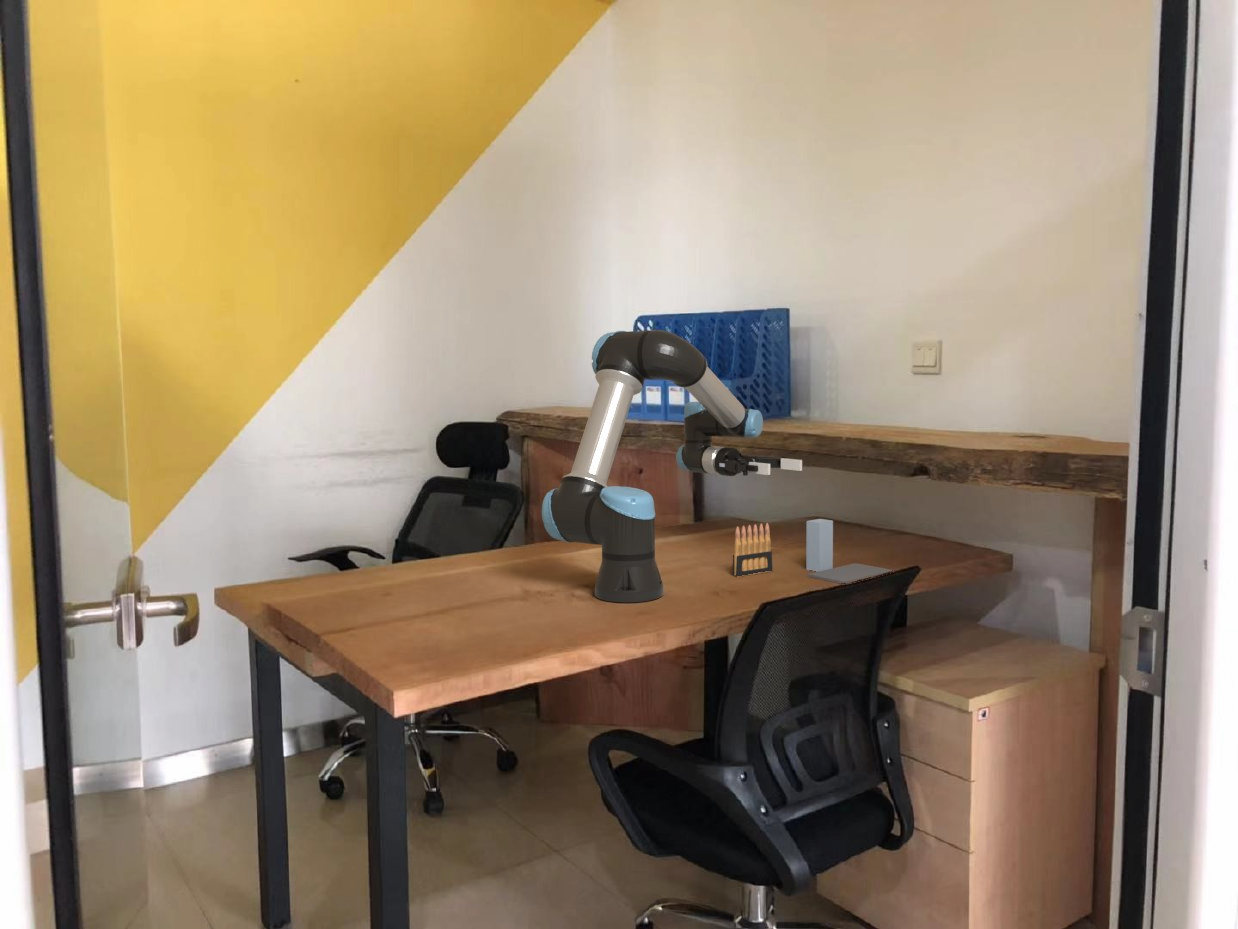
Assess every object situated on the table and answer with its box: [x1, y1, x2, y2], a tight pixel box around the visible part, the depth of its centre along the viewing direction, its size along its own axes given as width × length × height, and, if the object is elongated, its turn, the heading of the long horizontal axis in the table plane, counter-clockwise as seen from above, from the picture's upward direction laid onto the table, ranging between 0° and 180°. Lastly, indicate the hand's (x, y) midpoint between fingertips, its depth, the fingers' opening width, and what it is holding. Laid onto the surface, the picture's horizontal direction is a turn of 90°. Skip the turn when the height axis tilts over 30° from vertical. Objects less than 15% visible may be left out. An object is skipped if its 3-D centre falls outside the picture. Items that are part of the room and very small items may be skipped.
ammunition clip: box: [731, 522, 773, 577], centre depth 226 cm, size 11×2×12 cm, turn 119°
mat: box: [807, 562, 893, 584], centre depth 224 cm, size 18×11×1 cm, turn 129°
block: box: [805, 518, 834, 572], centre depth 229 cm, size 5×4×12 cm
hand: (785, 467), depth 235 cm, fingers open, 11 cm apart
